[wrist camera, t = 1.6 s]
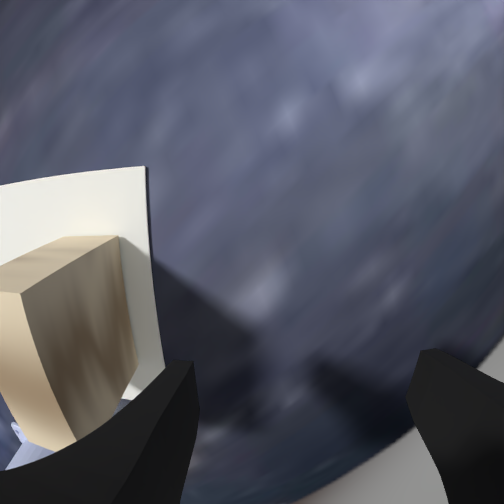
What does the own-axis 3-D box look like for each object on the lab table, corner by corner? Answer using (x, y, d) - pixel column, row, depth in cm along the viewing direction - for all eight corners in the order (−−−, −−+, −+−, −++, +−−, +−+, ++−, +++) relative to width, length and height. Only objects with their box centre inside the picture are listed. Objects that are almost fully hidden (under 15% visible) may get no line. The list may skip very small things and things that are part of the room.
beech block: (139, 362, 15) (89, 462, 8) (90, 356, 15) (28, 441, 8) (119, 234, 13) (19, 293, 6) (65, 235, 13) (-39, 286, 6)
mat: (172, 403, 16) (172, 404, 16) (12, 371, 16) (12, 372, 16) (145, 166, 12) (144, 166, 12) (-30, 192, 13) (-31, 192, 12)
